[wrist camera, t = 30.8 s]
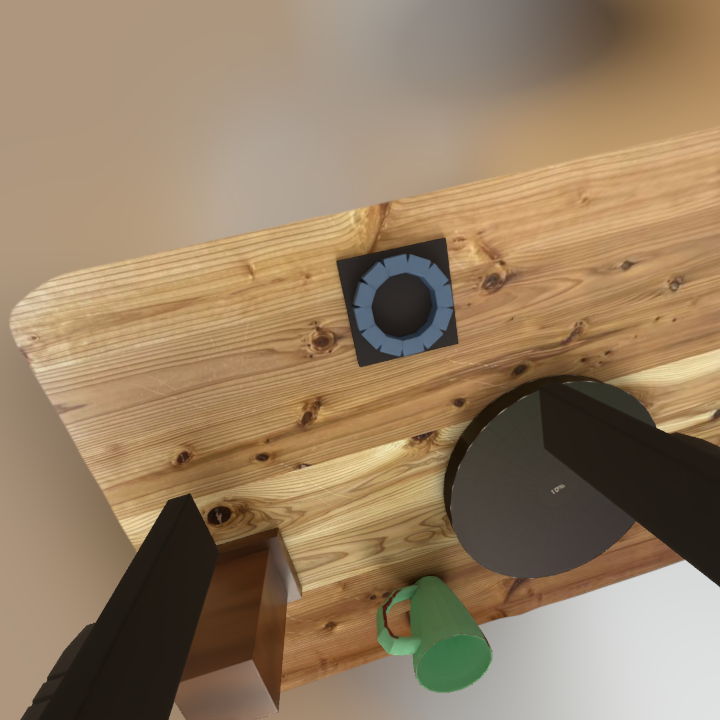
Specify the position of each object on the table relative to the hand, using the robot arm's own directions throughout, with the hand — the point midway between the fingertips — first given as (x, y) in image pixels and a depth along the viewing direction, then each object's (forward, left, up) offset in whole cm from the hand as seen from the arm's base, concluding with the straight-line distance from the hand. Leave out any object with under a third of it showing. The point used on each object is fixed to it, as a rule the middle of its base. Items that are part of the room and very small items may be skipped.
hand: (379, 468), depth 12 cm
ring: (+2, +8, -26) cm, 27 cm away
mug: (+37, -16, -27) cm, 48 cm away
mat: (+2, +8, -27) cm, 28 cm away
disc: (+35, +9, -27) cm, 45 cm away
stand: (+18, -30, -27) cm, 44 cm away
